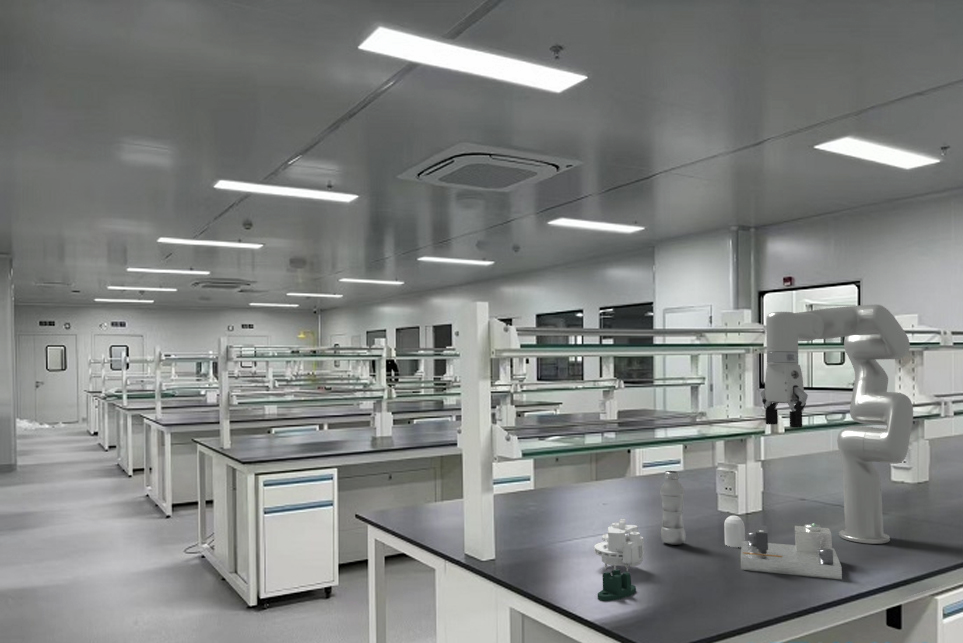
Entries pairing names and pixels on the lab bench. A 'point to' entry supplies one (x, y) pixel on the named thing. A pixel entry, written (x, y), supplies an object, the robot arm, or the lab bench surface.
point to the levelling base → (795, 554)
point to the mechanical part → (621, 546)
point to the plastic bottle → (672, 509)
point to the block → (761, 539)
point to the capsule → (734, 531)
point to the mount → (616, 586)
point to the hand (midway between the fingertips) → (783, 425)
